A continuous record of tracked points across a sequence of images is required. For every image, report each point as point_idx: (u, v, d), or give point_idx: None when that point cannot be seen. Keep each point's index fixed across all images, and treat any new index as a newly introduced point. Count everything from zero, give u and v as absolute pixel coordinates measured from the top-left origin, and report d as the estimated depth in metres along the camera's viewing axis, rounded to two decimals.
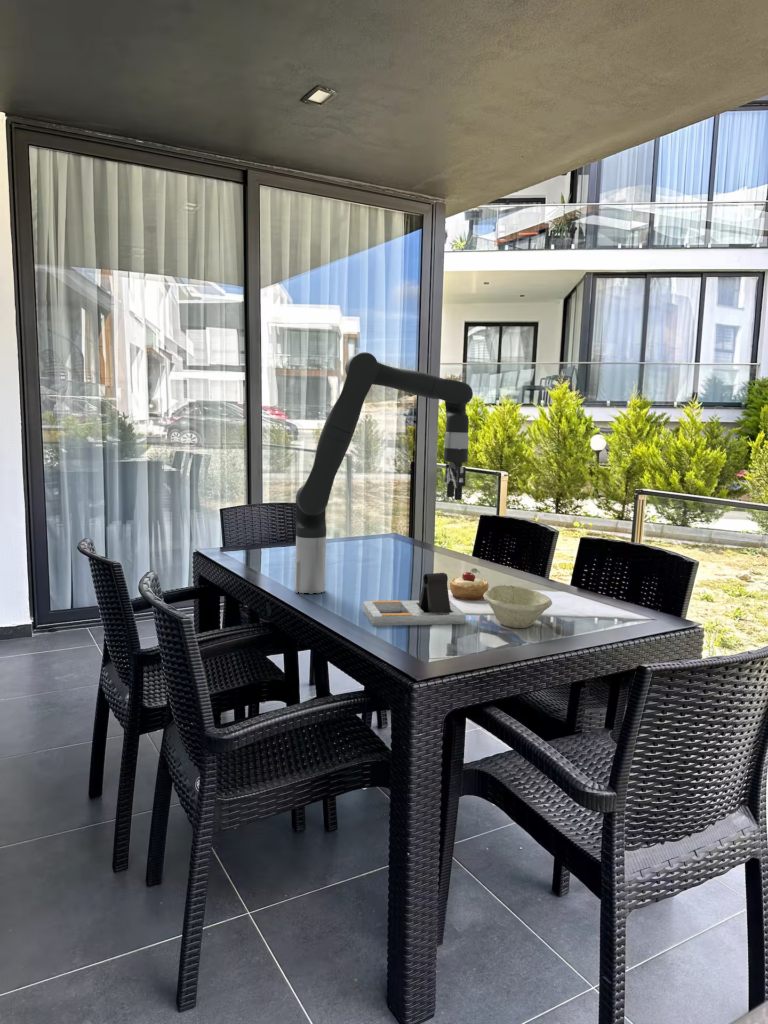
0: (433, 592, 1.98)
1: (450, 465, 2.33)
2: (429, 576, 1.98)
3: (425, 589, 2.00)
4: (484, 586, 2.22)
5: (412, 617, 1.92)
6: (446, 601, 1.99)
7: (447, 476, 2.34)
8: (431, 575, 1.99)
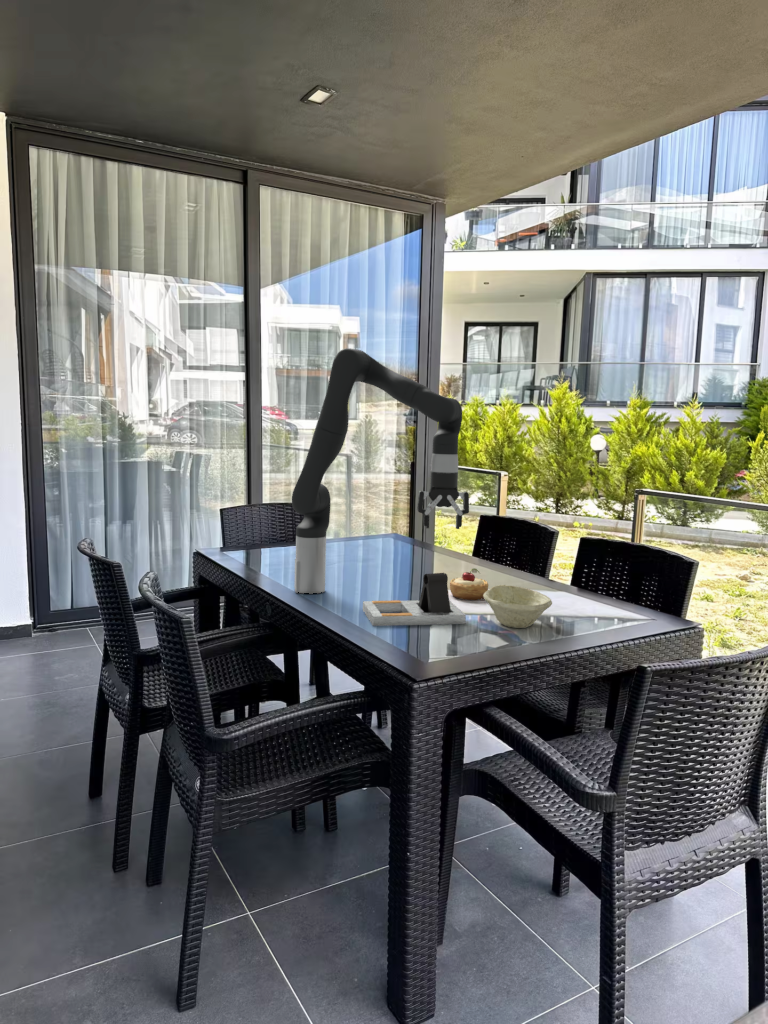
0: (433, 592, 1.98)
1: (437, 492, 2.03)
2: (429, 576, 1.98)
3: (425, 589, 2.00)
4: (484, 586, 2.22)
5: (412, 617, 1.92)
6: (446, 601, 1.99)
7: (434, 505, 2.03)
8: (431, 575, 1.99)
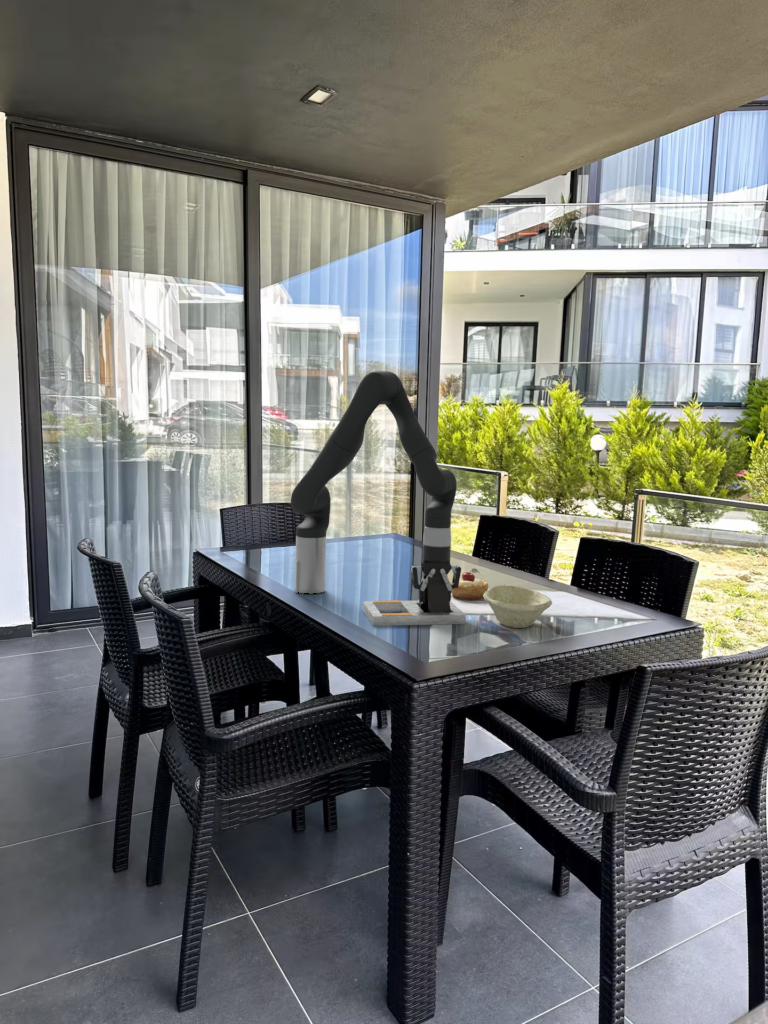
0: (433, 592, 1.98)
1: (430, 565, 1.99)
2: (429, 576, 1.98)
3: (425, 589, 2.00)
4: (484, 586, 2.22)
5: (412, 617, 1.92)
6: (446, 601, 1.99)
7: None
8: None
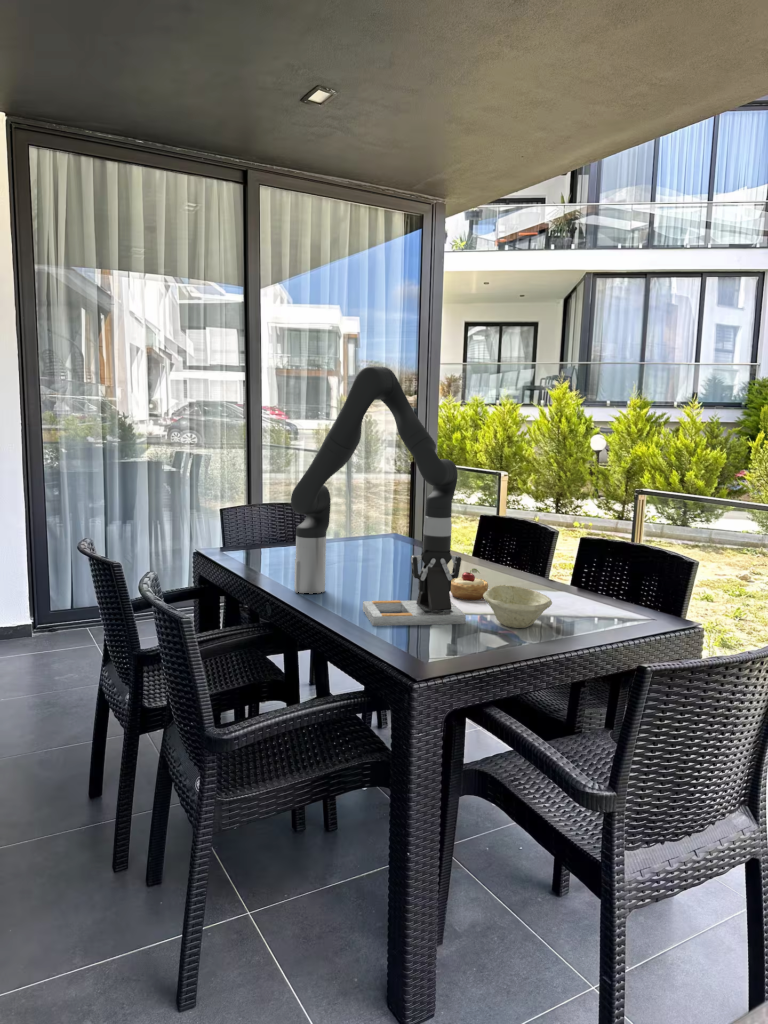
0: (433, 582, 1.98)
1: (430, 555, 1.98)
2: None
3: (425, 579, 2.00)
4: (484, 586, 2.22)
5: (412, 617, 1.92)
6: (446, 591, 1.99)
7: None
8: None
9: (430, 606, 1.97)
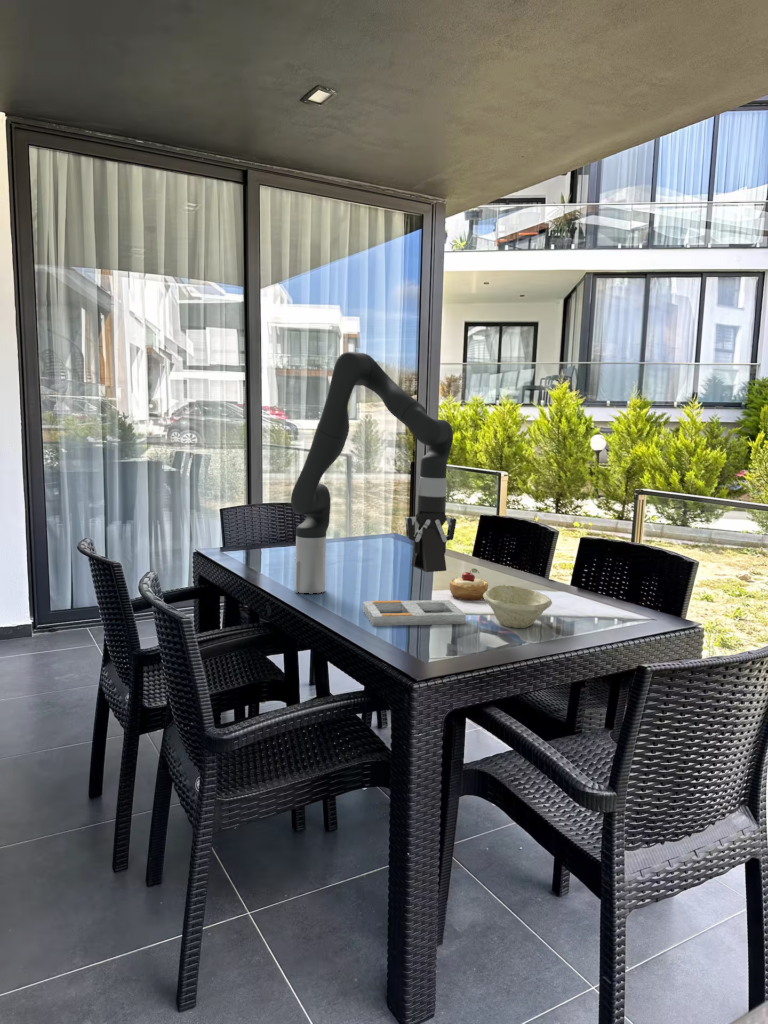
0: (428, 543, 1.97)
1: (425, 516, 1.97)
2: (424, 527, 1.97)
3: (420, 540, 1.99)
4: (484, 586, 2.22)
5: (412, 617, 1.92)
6: (441, 552, 1.98)
7: None
8: None
9: (425, 567, 1.96)
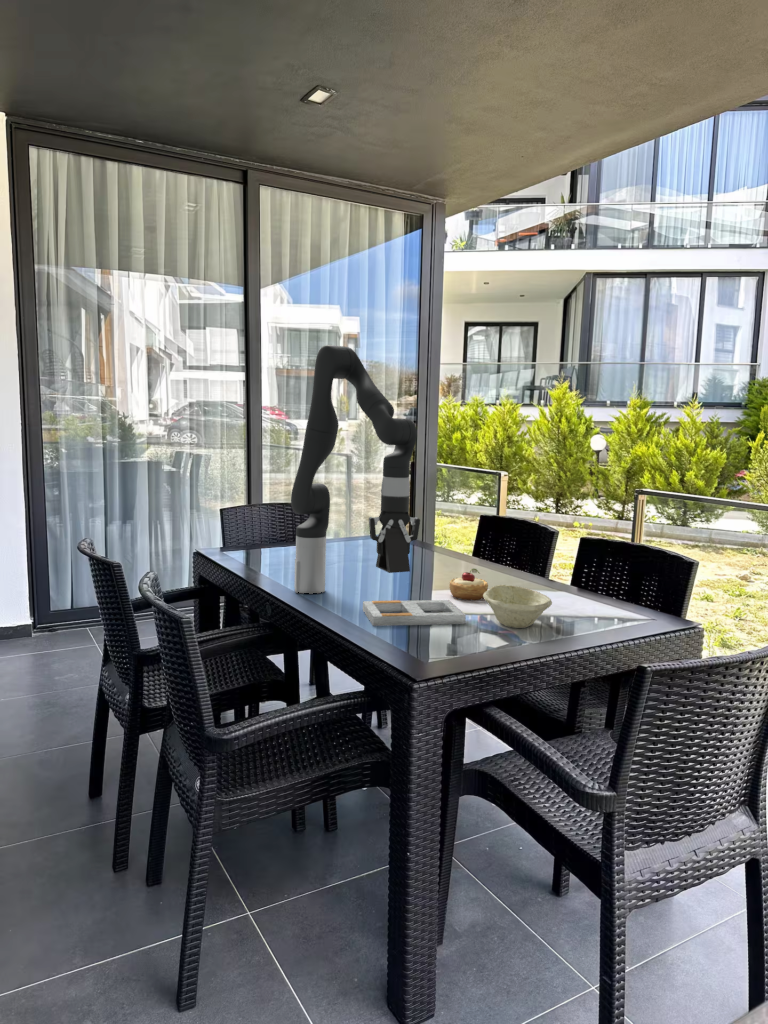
0: (391, 543, 1.94)
1: (388, 516, 1.95)
2: (387, 527, 1.94)
3: (383, 541, 1.97)
4: (484, 586, 2.22)
5: (412, 617, 1.92)
6: (404, 553, 1.95)
7: None
8: None
9: (388, 568, 1.93)
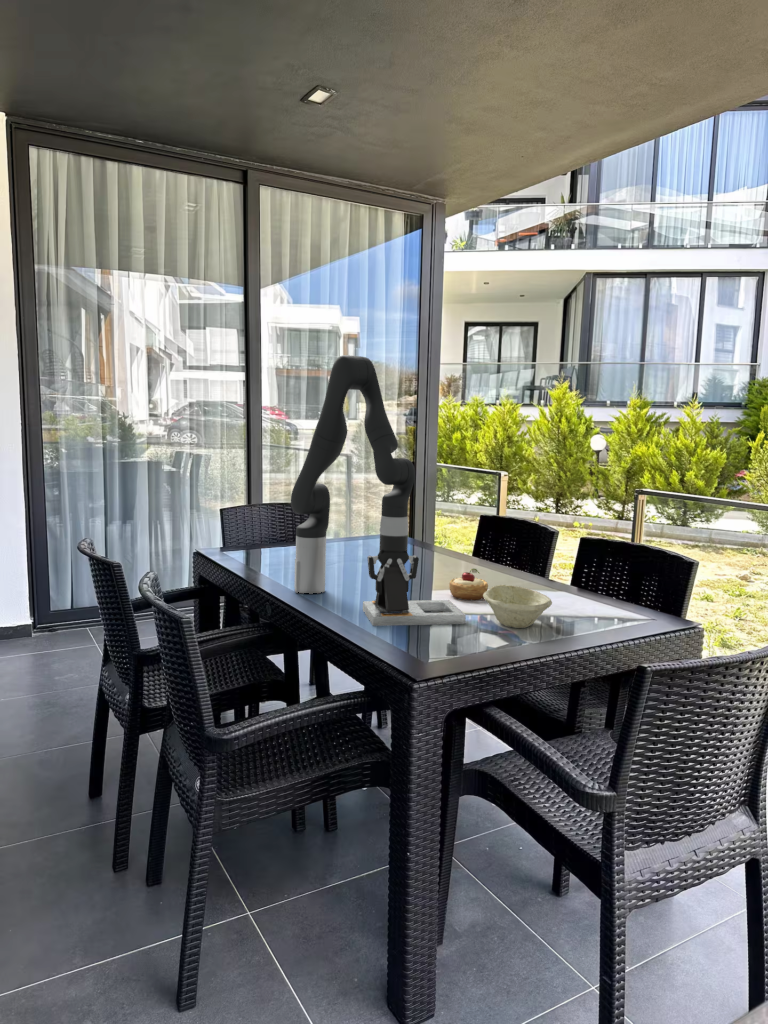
0: (390, 582, 1.96)
1: (387, 555, 1.96)
2: (386, 566, 1.96)
3: (382, 579, 1.98)
4: (483, 586, 2.22)
5: (412, 617, 1.92)
6: (403, 591, 1.97)
7: None
8: None
9: (387, 607, 1.95)
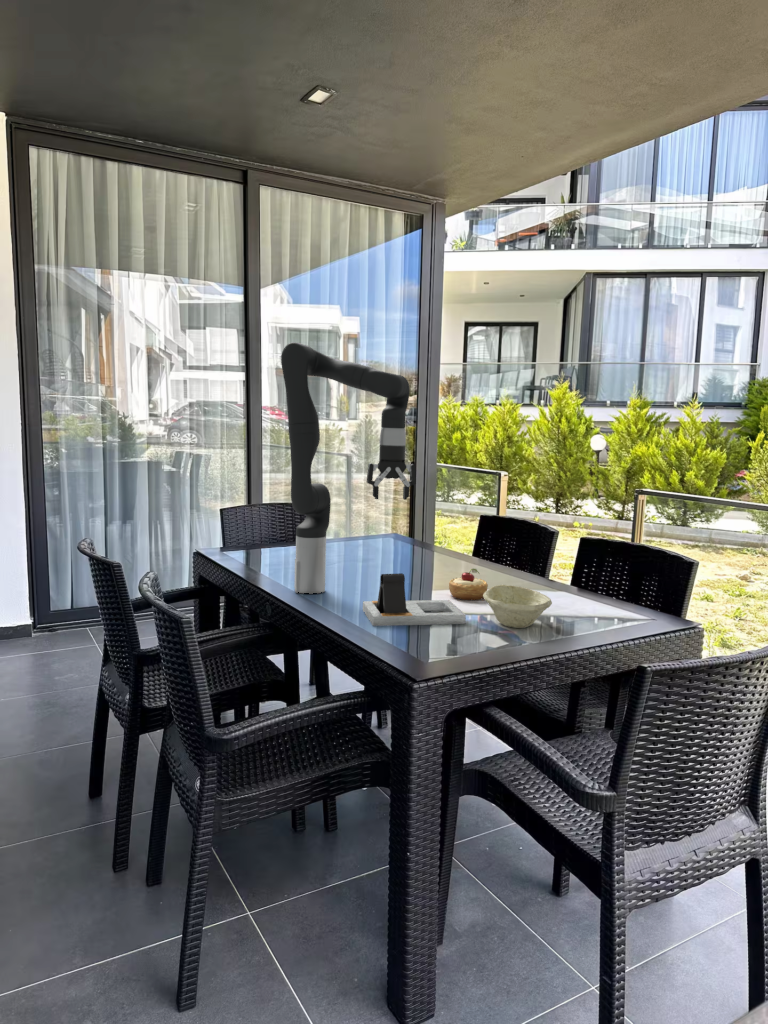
0: (388, 593, 1.96)
1: (386, 464, 2.13)
2: (385, 576, 1.96)
3: (382, 589, 1.98)
4: (483, 586, 2.21)
5: (412, 617, 1.92)
6: (402, 602, 1.97)
7: (383, 476, 2.13)
8: (387, 575, 1.97)
9: None
